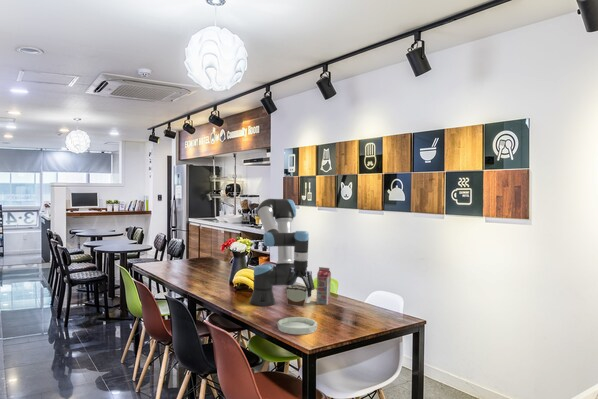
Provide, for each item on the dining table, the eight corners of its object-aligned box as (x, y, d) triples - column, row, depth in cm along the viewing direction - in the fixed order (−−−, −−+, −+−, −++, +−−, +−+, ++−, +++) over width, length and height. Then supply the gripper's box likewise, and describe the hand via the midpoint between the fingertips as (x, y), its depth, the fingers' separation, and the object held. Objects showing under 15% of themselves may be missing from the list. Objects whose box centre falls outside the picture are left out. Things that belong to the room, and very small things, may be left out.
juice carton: (319, 301, 271) (320, 266, 270) (329, 302, 268) (331, 267, 268) (316, 303, 264) (317, 267, 264) (326, 304, 262) (327, 268, 262)
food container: (309, 304, 233) (310, 286, 232) (306, 307, 227) (307, 288, 227) (288, 301, 237) (289, 283, 236) (284, 304, 231) (285, 285, 230)
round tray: (270, 328, 212) (270, 322, 212) (295, 320, 226) (295, 315, 226) (299, 337, 199) (299, 330, 199) (324, 328, 214) (324, 322, 214)
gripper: (279, 257, 235) (278, 297, 236) (313, 263, 220) (311, 306, 220) (289, 256, 241) (287, 295, 241) (322, 262, 225) (320, 303, 226)
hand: (299, 300), depth 231 cm, fingers closed on food container, 11 cm apart
